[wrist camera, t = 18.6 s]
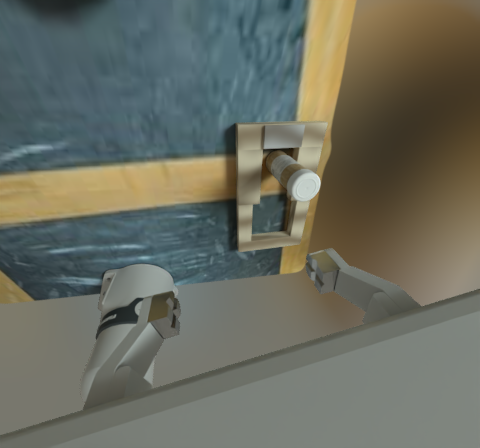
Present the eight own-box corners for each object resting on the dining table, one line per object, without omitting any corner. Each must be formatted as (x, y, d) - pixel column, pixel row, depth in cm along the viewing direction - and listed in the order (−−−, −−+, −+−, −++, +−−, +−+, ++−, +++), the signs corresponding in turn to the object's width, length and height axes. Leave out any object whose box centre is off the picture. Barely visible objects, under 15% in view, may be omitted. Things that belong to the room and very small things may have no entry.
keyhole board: (295, 238, 51) (300, 245, 49) (237, 245, 49) (239, 253, 46) (320, 120, 35) (329, 122, 33) (235, 122, 33) (238, 125, 31)
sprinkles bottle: (286, 169, 40) (320, 199, 29) (265, 174, 40) (291, 205, 29) (286, 147, 37) (323, 170, 26) (264, 152, 37) (291, 177, 26)
